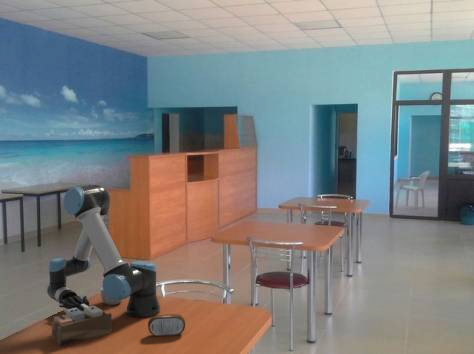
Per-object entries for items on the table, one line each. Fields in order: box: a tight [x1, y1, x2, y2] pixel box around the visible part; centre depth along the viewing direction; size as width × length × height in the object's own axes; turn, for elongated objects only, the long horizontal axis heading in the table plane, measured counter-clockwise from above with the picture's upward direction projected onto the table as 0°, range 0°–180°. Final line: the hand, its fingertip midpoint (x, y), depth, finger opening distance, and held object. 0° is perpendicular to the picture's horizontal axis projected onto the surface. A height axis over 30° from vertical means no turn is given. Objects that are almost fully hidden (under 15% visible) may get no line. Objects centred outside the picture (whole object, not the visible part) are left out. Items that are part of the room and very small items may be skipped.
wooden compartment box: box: [51, 311, 113, 347], centre depth 208 cm, size 10×21×8 cm, turn 131°
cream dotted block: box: [84, 305, 104, 318], centre depth 216 cm, size 8×4×6 cm, turn 41°
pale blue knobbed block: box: [65, 308, 85, 322], centre depth 213 cm, size 8×4×6 cm, turn 41°
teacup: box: [99, 286, 124, 306], centre depth 250 cm, size 14×11×8 cm
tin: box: [147, 313, 186, 337], centre depth 210 cm, size 15×3×8 cm, turn 100°
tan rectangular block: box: [53, 314, 73, 326], centre depth 205 cm, size 8×4×6 cm, turn 41°
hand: (88, 311), depth 219 cm, fingers closed
